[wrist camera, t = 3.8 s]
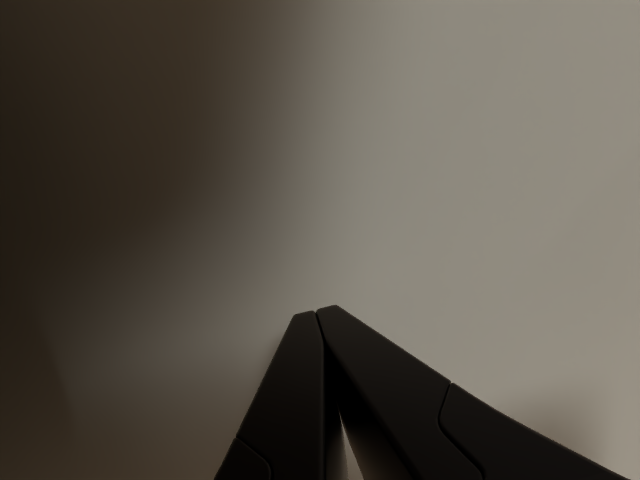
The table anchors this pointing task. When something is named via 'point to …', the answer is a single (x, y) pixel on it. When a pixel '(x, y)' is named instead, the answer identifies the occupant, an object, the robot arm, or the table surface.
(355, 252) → the table surface
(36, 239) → the table surface
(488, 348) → the table surface
